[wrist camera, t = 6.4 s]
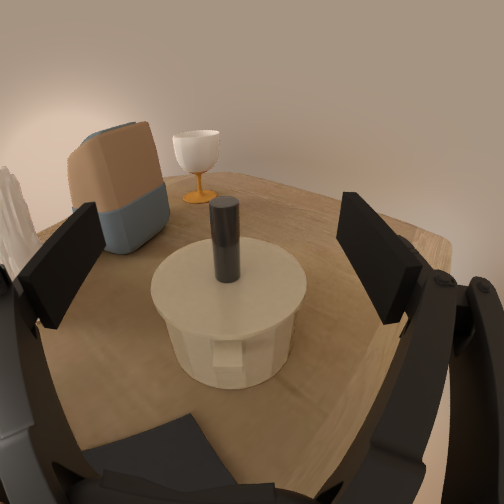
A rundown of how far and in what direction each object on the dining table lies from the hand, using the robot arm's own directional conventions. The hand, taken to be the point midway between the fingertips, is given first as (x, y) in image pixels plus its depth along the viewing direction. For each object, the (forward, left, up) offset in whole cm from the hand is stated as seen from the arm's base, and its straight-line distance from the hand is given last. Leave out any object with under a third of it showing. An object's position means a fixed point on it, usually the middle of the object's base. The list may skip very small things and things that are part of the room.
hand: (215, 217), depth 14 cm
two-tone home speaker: (-43, -1, -21) cm, 48 cm away
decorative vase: (-30, -21, -21) cm, 43 cm away
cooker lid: (-8, +5, -12) cm, 15 cm away
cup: (-53, +21, -21) cm, 61 cm away
